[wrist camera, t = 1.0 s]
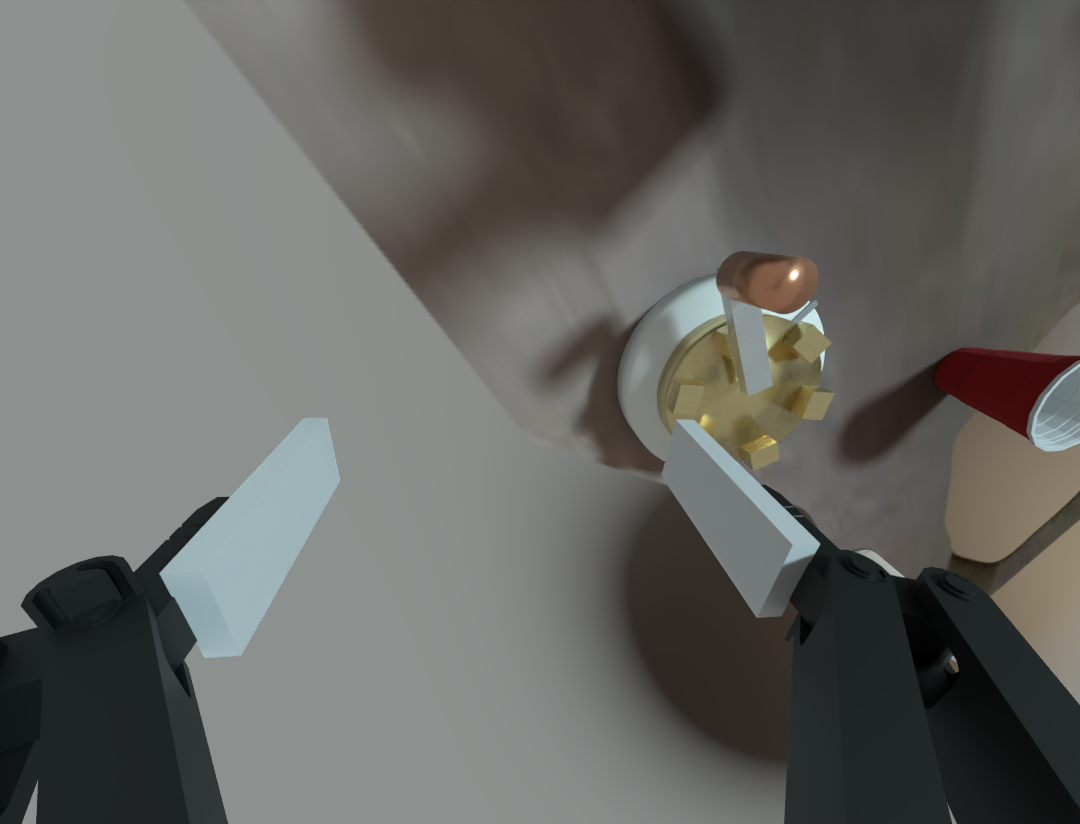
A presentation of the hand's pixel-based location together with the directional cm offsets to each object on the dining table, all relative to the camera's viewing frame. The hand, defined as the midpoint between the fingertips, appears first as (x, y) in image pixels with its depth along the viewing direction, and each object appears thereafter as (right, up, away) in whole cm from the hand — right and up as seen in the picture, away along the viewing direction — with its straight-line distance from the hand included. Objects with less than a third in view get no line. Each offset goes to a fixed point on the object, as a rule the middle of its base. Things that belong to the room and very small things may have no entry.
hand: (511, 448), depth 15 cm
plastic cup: (+55, +7, +35) cm, 65 cm away
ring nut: (+20, +7, +25) cm, 33 cm away
